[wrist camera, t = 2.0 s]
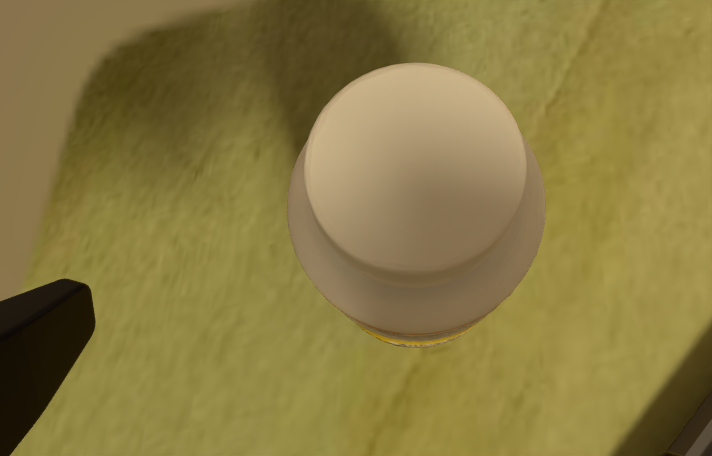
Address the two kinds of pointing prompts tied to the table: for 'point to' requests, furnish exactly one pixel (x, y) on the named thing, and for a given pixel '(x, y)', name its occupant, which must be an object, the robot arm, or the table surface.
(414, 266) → the supplement bottle
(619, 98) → the table surface
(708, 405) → the ink pad
